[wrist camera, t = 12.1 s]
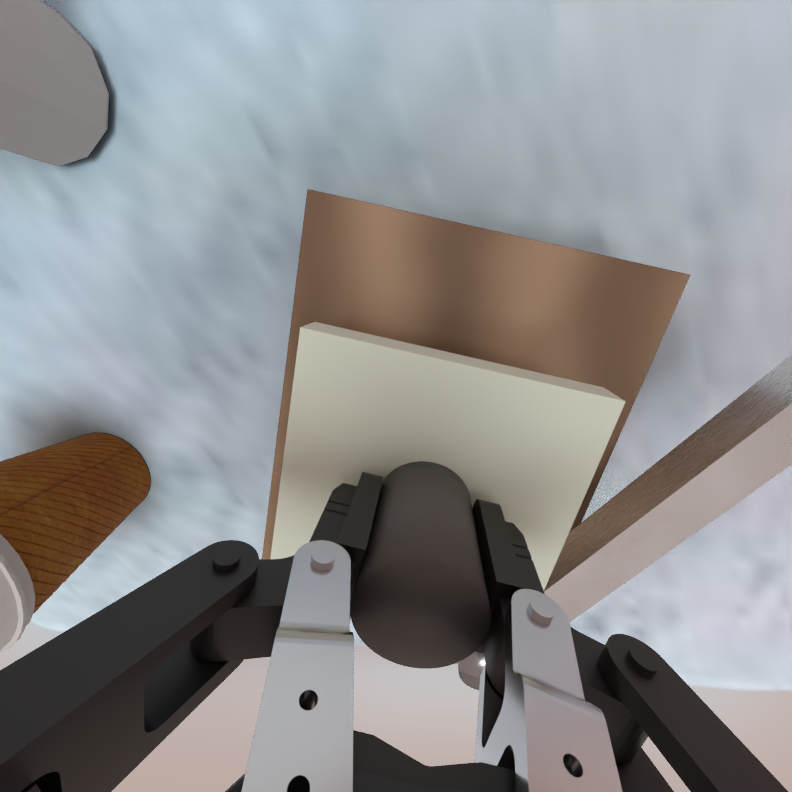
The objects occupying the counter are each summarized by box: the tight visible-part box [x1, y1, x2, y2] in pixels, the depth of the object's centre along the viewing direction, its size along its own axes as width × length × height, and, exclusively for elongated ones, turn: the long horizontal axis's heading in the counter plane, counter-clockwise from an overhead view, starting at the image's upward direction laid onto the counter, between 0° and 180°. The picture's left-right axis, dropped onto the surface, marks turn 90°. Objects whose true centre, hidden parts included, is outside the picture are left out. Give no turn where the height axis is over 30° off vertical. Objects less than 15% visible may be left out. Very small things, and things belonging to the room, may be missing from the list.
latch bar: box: [457, 355, 792, 690], centre depth 16 cm, size 2×19×2 cm, turn 140°
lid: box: [270, 322, 626, 668], centre depth 11 cm, size 10×10×6 cm
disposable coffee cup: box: [0, 433, 150, 655], centre depth 22 cm, size 10×10×12 cm
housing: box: [262, 189, 690, 559], centre depth 21 cm, size 16×20×8 cm
